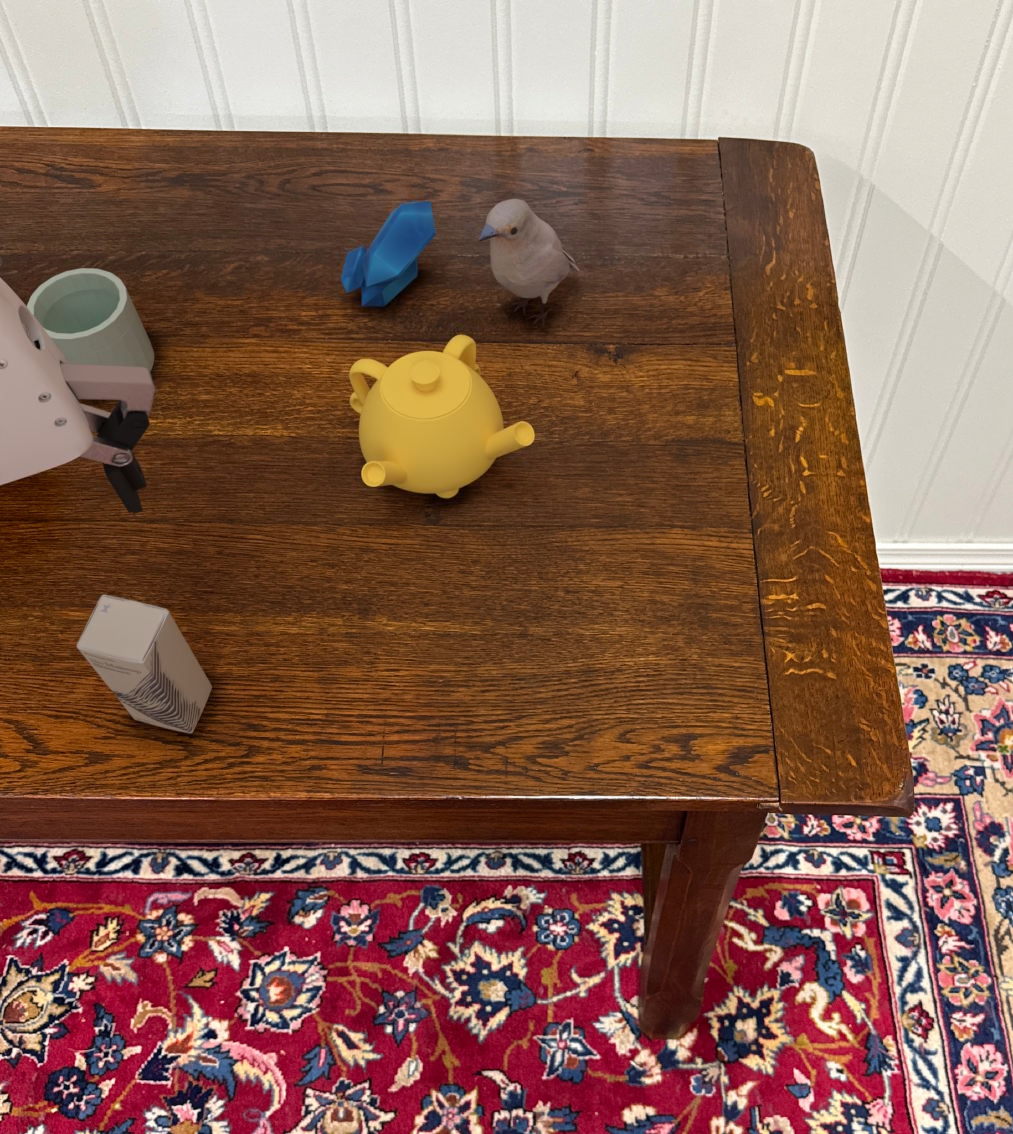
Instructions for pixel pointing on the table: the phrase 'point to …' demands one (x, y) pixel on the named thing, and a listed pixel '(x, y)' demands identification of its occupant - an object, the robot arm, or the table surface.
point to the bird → (525, 253)
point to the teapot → (430, 420)
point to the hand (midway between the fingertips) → (47, 522)
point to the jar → (92, 319)
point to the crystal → (390, 255)
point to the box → (146, 663)
